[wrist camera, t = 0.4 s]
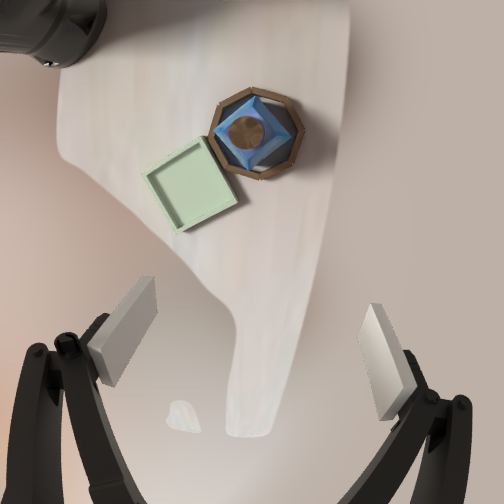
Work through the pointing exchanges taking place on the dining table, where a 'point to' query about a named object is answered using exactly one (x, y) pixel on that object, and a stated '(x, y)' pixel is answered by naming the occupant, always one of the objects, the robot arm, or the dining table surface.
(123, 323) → the robot arm
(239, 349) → the dining table surface
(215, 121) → the ring
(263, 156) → the perfume bottle
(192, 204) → the tray
